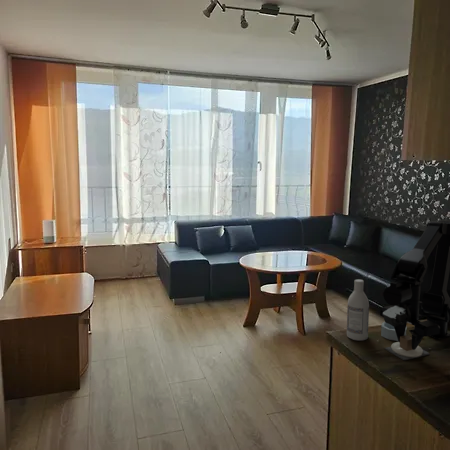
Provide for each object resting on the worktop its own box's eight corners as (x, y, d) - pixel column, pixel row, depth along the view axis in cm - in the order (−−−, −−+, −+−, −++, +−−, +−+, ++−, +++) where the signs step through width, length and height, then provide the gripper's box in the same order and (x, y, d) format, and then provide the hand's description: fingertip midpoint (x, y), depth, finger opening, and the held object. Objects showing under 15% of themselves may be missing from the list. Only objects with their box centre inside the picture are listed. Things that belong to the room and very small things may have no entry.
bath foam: (357, 331, 143) (359, 276, 140) (372, 338, 137) (374, 281, 134) (342, 335, 140) (343, 279, 137) (356, 342, 134) (358, 284, 131)
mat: (409, 343, 132) (409, 342, 132) (429, 354, 125) (429, 353, 125) (384, 349, 129) (384, 347, 129) (403, 360, 121) (403, 358, 121)
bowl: (394, 329, 144) (394, 320, 143) (411, 338, 136) (411, 328, 136) (376, 333, 141) (376, 323, 140) (392, 342, 134) (393, 332, 133)
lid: (406, 342, 132) (407, 329, 132) (429, 354, 124) (430, 340, 123) (385, 346, 129) (385, 334, 129) (406, 359, 121) (407, 345, 120)
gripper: (367, 292, 130) (366, 338, 132) (412, 312, 113) (410, 364, 115) (395, 288, 134) (392, 332, 136) (442, 306, 116) (439, 357, 119)
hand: (407, 345), depth 126 cm, fingers open, 5 cm apart
